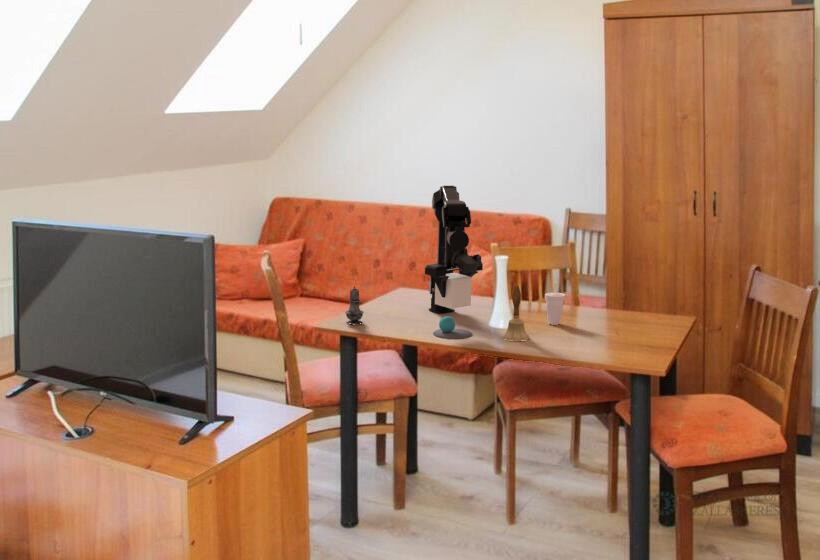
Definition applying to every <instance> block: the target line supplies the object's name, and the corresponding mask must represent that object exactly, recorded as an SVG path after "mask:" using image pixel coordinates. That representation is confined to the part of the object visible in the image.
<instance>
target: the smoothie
mask: <svg viewBox="0 0 820 560" xmlns="http://www.w3.org/2000/svg"><path fill="white" fill-rule="evenodd" d="M554 283H555V284H554V291H553V292H546V293H545V294H544V298H545V304H546V313H547V314H546V315H547V324H548V323H549V324H553V325H556V324H560V325H561V319H562V313H563V307H564V300H565V299H566V295H565V293H561V292H557V291H558V290H557V289H558V288H557V287H558V280H555V282H554ZM549 324H548V325H549ZM553 325H552V326H553Z"/></svg>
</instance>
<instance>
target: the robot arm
mask: <svg viewBox="0 0 820 560" xmlns="http://www.w3.org/2000/svg"><path fill="white" fill-rule="evenodd" d="M431 208H432V210H433V214H434V215H435V217H436V219H437V222H438V223H437V224H438V225H437V253H436V254H437V256H436V263H432V264H430V263H429V264H427V265H425V267H424V274H425V275H427V276H429V283H428V292H429V295H431V298H430V308H428V311H431V312H434V313H437V314H446V313H450V312H455V310H456V308H454V309H450V308H447V307H443V306H440V305H437V304H435V283H436V285H437V287H438V289H439V292H440V294H441V296H442V297H443V298H444V297H445V294H446V280H447V279H448V278H449V276H446V274H449V273H455V272H454V271H458V274H462V275H466V276H470V277H472V278H473V276H475V275H476V274H478V273H479V271H483V267H484V266H483V261H482V256H481V255H480V254H478V253H477V254H473V255H472V254H471V255H469V254H468V248H467V247H468V245H469V244H470V238H469V235H468V234H467V233H466V231H465V229H466V228H470V226H471V223H472V217H471V210H470V209H469V206H467V203H466V202H465V201H463V200H460V193H459V192H458V190H457V186H455V185H442V186H440V187H439V189H438V190H437V191H435V192H433V194H432V198H431Z"/></svg>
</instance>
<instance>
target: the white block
mask: <svg viewBox="0 0 820 560" xmlns="http://www.w3.org/2000/svg"><path fill="white" fill-rule="evenodd" d="M446 276H449V278H448V279H447V280H446V294H445V297H444V298H443V297H442V296H441V294H440V292H439V289H438V287H437V285H436V283H435V304H437V305H440V306H443V307H447V308H450V309H458V308H459V309H460V308H464V307H469V306H471V304H472V278H473V276H472V277H470V276H466V275H462V274H459V272H458V273H457V272H454V273H449V274H446Z"/></svg>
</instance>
